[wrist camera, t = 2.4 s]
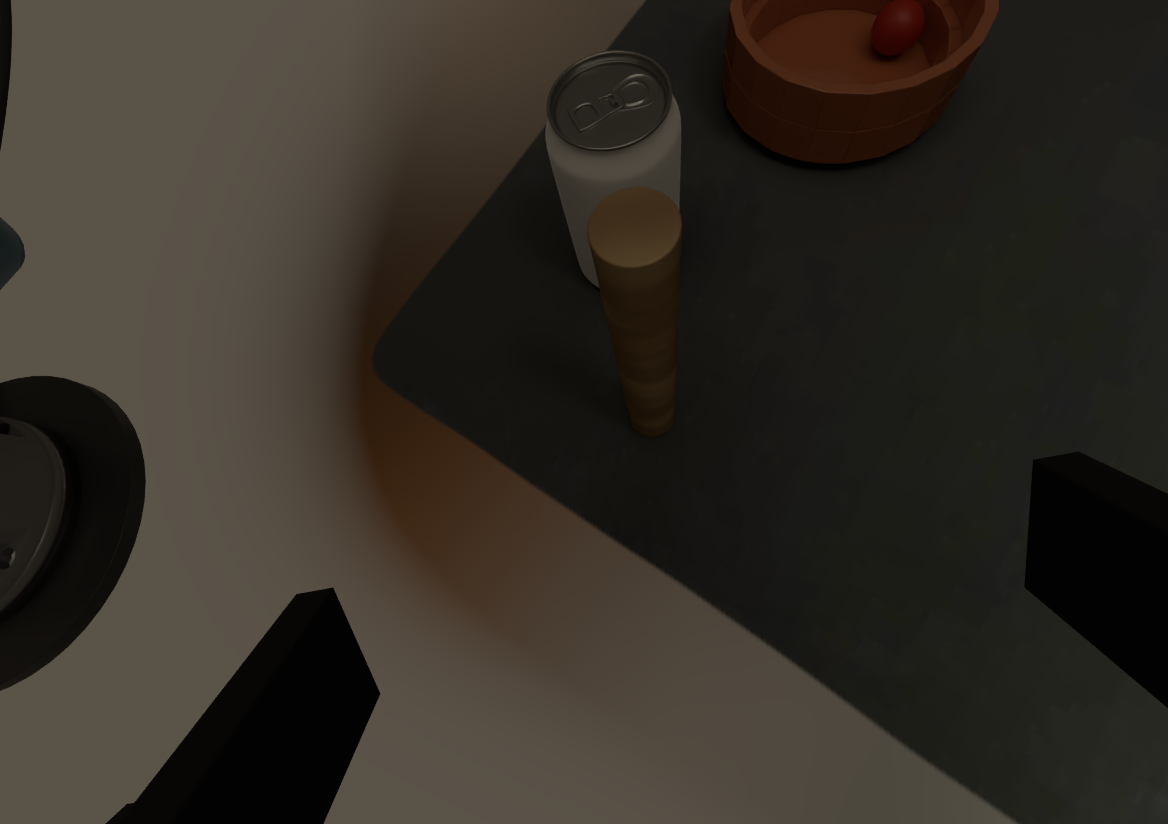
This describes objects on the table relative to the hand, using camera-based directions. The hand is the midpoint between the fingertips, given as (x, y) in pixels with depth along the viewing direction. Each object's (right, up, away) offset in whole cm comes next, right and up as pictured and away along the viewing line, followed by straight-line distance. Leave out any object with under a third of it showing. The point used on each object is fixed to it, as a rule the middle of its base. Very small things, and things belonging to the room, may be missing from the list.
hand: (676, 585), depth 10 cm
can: (+1, +14, +25) cm, 29 cm away
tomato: (+18, +28, +24) cm, 41 cm away
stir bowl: (+15, +26, +26) cm, 40 cm away
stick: (+2, +3, +21) cm, 22 cm away
